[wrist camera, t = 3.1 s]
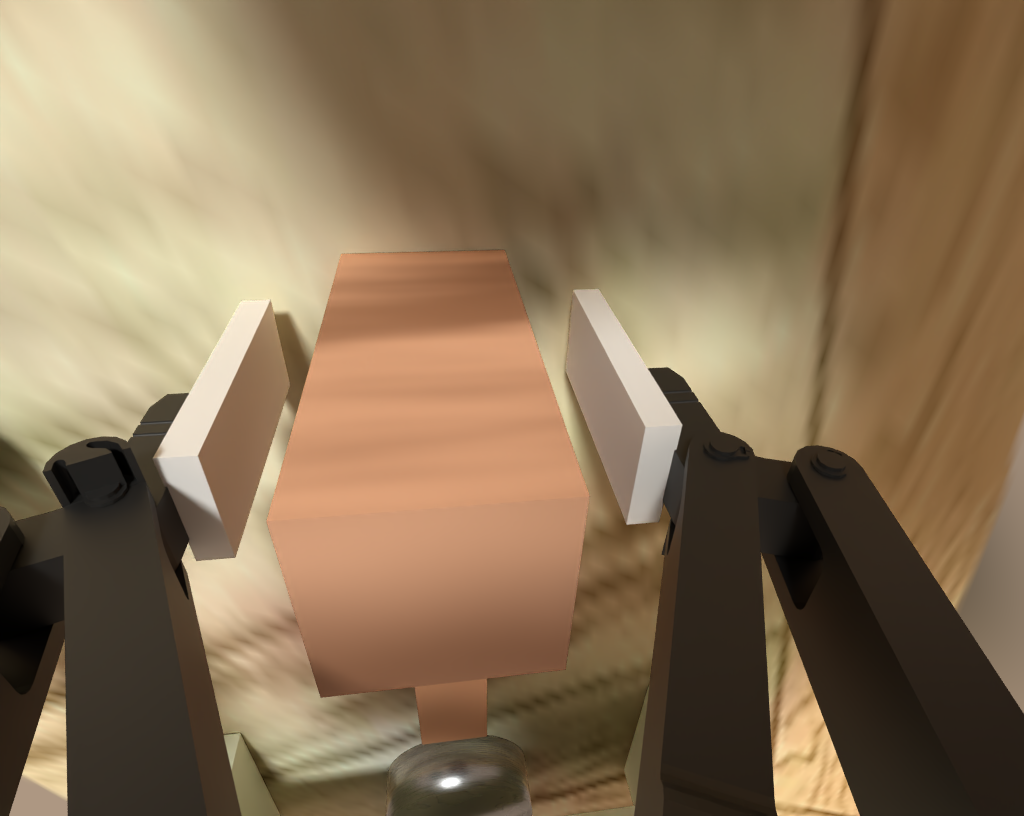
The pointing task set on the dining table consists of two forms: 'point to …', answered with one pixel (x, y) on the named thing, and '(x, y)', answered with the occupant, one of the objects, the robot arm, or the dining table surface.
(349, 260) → the paddle
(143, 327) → the dining table surface
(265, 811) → the shelf
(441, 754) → the puck
